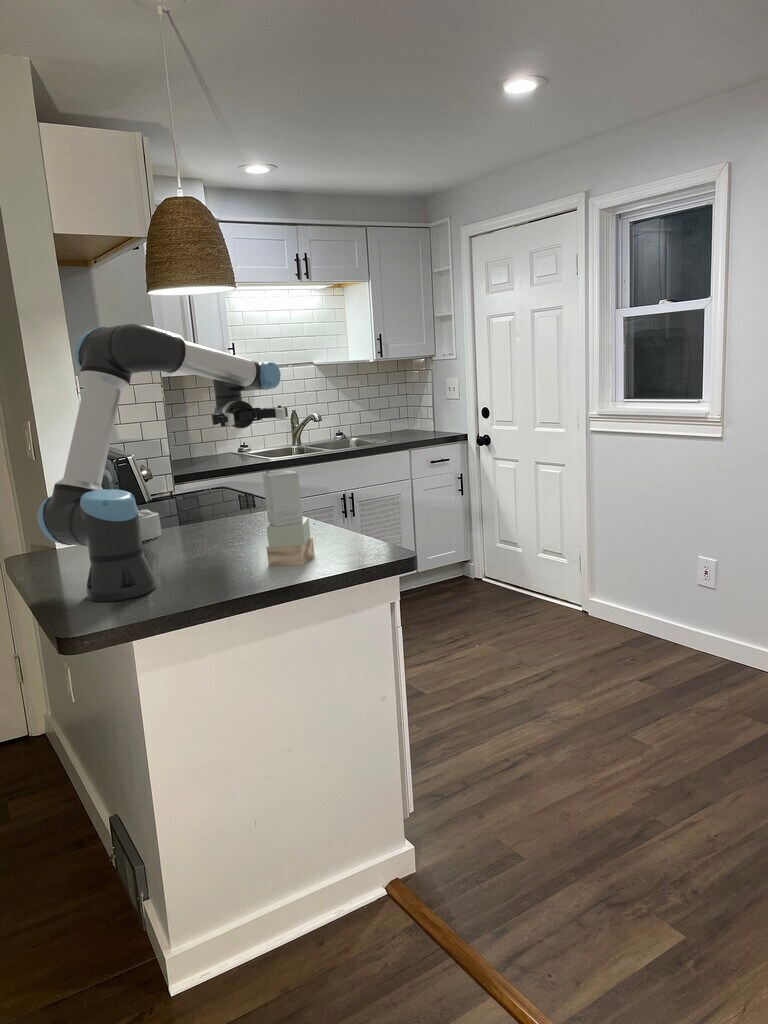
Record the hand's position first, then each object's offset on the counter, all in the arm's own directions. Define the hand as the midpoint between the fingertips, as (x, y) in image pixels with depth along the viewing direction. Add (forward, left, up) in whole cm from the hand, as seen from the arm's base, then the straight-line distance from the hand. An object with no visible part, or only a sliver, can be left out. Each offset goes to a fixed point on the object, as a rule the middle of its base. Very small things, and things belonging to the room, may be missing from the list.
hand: (258, 416), depth 194 cm
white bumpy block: (+23, +52, -36) cm, 67 cm away
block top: (-7, -7, -31) cm, 33 cm away
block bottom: (-8, -7, -36) cm, 38 cm away
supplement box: (-7, -7, -26) cm, 28 cm away
